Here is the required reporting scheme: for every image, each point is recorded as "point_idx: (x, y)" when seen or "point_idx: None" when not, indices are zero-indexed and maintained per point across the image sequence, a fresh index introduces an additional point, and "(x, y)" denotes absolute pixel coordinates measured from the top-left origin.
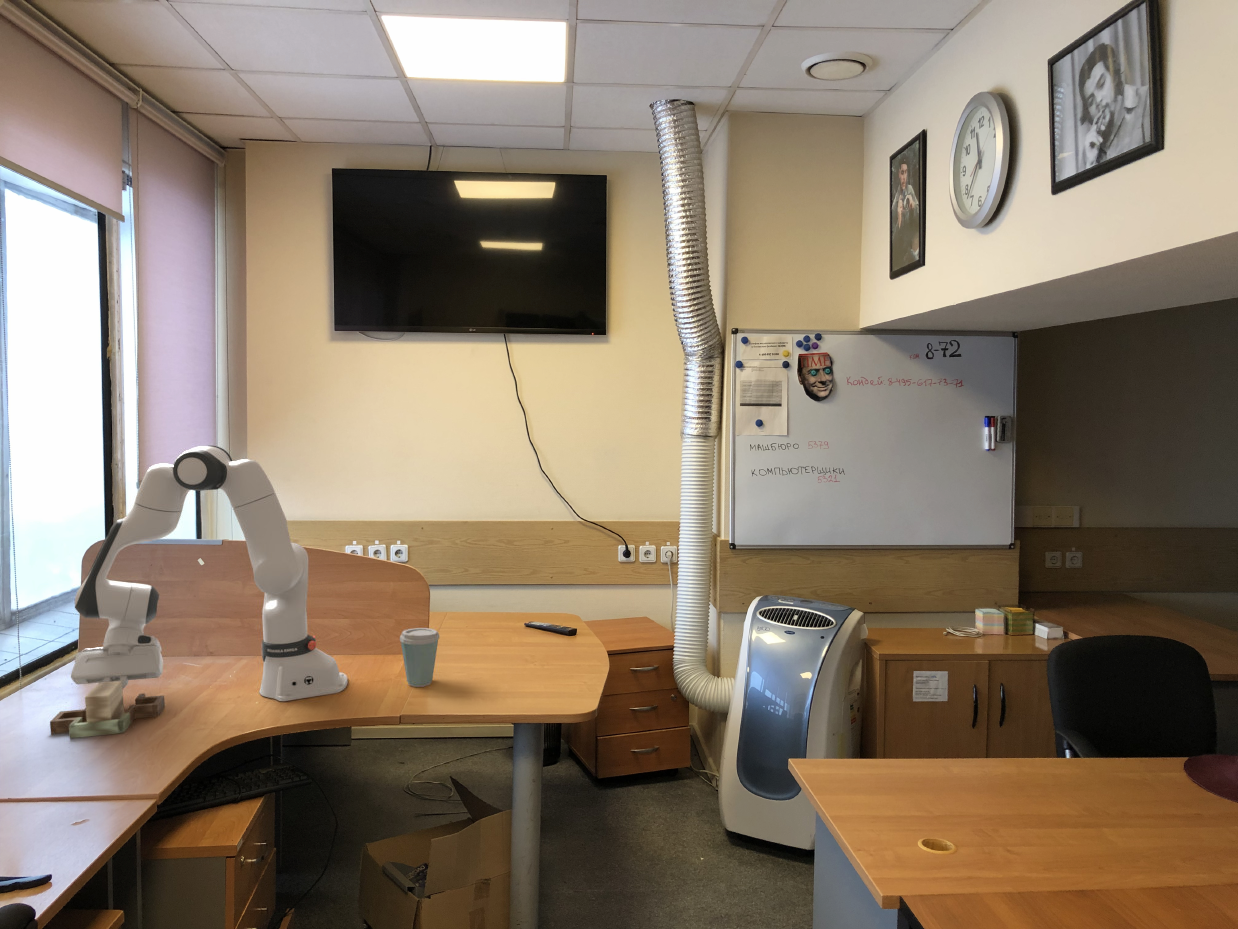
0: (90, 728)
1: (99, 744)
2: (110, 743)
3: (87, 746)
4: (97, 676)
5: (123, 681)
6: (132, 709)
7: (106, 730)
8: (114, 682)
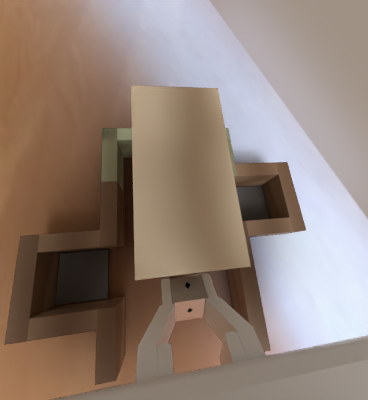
0: None
1: None
2: (123, 103)
3: None
4: (307, 352)
5: (149, 338)
6: (100, 211)
7: None
8: (167, 253)
